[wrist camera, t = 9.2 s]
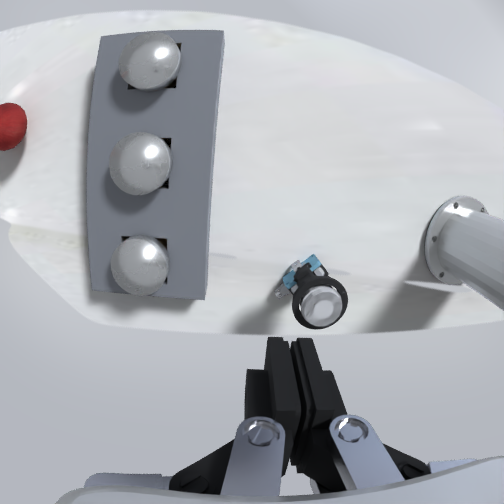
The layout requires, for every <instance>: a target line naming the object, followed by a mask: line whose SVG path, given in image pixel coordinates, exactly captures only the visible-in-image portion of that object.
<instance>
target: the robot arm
mask: <svg viewBox="0 0 504 504" xmlns="http://www.w3.org/2000/svg"><path fill="white" fill-rule="evenodd" d="M425 256H426V261H427V265H428V267H429V269H430V271H431V273H432V274H433V275H434V276H435V277H436V278H437V279H438V280H440V281H441V282H443V283H445V284H448V285H457V284H461V283H464V284H466V285H467V286H469V287H470V288H472V289H473V290H475V291H476V292H478V293H479V294H481V295H482V296H484V297H485V298H486V299H488V300H489V301H491V302H492V303H494V304H495V305H496V306H498V307H499V308H501V309H502V310H503V311H504V220H503V219H500V218H497V217H494V216H491V215H489V214H488V212H487V210H486V208H485V207H484V205H483V204H482V203H481V202H480V201H478V200H477V199H475V198H472V197H468V196H457V197H454V198H452V199H450V200H448V201H447V202H445V203H444V204H443V205H442V206H441V207H440V208H439V210H438V211H437V212H436V214H435V215H434V217H433V219H432V221H431V223H430V226H429V228H428V231H427V236H426V242H425ZM289 458H290V462H291V465H292V466H295V465H296V468H297V473H304V474H305V475H306V476H308V477H310V485H311V488H312V490H313V493H314V494H313V495H298V496H279V493H280V484H281V477H282V476H284V475H285V472H286V469H287V466H288V462H289ZM55 504H504V456H497V457H490V458H485V459H481V460H476V459H463V460H450V461H436V462H429V463H428V464H427V465H426V464H425V463H423V462H422V461H420V460H418V459H416V458H413V457H411V456H409V455H407V454H404V453H402V452H400V451H398V450H396V449H393V448H391V447H389V446H387V445H385V444H383V443H382V442H381V440H380V439H379V437H378V436H377V434H376V433H375V431H374V429H373V427H372V426H371V425H370V423H369V422H368V421H366V420H365V419H363V418H361V417H359V416H355V415H347V412H346V409H345V406H344V403H343V400H342V398H341V395H340V392H339V389H338V386H337V384H336V381H335V378H334V375H333V373H332V371H330V370H329V371H323V370H322V367H321V364H320V361H319V358H318V355H317V352H316V349H315V346H314V343H313V340H312V338H297V340H296V341H292V343H291V347H290V348H289V343H288V341H283V338H282V337H268V340H267V349H266V358H265V365H264V370H255V369H247V374H246V386H245V420H244V421H243V422H242V423H241V424H240V425H239V427H238V429H237V432H236V436H235V439H234V440H232V441H231V442H229V443H227V444H226V445H224V446H222V447H221V448H219V449H217V450H216V451H214V452H213V453H211V454H209V455H208V456H206V457H204V458H202V459H201V460H199V461H197V462H195V463H194V464H192V465H190V466H188V467H187V468H185V469H183V470H181V471H179V472H178V473H176V474H175V475H174V476H165V477H162V475H161V474H119V473H96V474H94V475H92V476H90V477H89V478H88V479H87V480H86V482H85V485H84V488H79V489H76V490H73V491H70V492H68V493H66V494H65V495H63V496H62V497H61V498H60V499H59V500H58V501H57V502H56V503H55Z"/></svg>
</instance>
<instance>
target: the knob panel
mask: <svg viewBox="0 0 504 504" xmlns="http://www.w3.org/2000/svg"><path fill="white" fill-rule="evenodd" d="M149 32H160V33H164V34H166V35H168V36H170V37H171V38H172V39H173V40H174V41H175V43H176V44H177V46H178V48H179V50H180V52H181V55H182V66H181V70H180V72H179V74H178V76H177V84H176V88H163V89H160V90H157V91H151V92H146V91H141V90H138V89H136V88H135V87H133V86H131V85H130V84H128V83H127V82H126V81H125V80H124V79H123V78H122V76H121V74H120V72H119V58H120V55H121V53H122V51H123V49H124V48H125V46H126V45H127V44H128V43H129V42H130V41H131V40H132V39H134V38H135V37H137V36H139V35H141V34H144V33H148V32H136V33H126V34H117V35H109V36H102V37H101V40H100V45H99V50H98V56H97V62H96V69H95V76H94V83H93V91H92V100H91V109H90V120H89V133H88V151H87V231H88V249H89V262H90V274H91V284H92V290H95V291H105V292H114V293H124V294H131V293H128V292H127V291H125V290H124V289H122V288H121V287H120V286H119V285H118V284H117V282H116V281H115V279H114V277H113V275H112V271H111V258H112V255H113V253H114V251H115V249H116V248H117V247H118V246H119V245H120V244H121V243H123V242H124V241H125V240H126V239H127V238H129V237H131V236H134V235H138V234H144V235H149V236H152V237H154V238H167V252H168V254H169V258H170V270H169V273H168V275H167V277H166V279H165V281H164V283H163V285H162V286H161V287H160V288H159V289H158V290H157V291H156V292H154V293H152V294H150V295H146V296H158V297H170V298H183V299H197V300H205V295H206V289H207V279H208V253H209V231H210V212H211V195H212V180H213V165H214V151H215V138H216V126H217V114H218V103H219V93H220V82H221V73H222V63H223V54H224V45H225V41H224V31H220V30H168V31H149ZM135 132H145V133H150V134H154V135H156V136H158V137H160V138H162V139H168V140H171V152H172V156H173V167H172V171H171V174H170V176H169V185H162V186H161V187H160V188H158V189H156V190H154V191H152V192H150V193H147V194H144V195H132V194H128V193H126V192H124V191H122V190H121V189H120V188H119V187H118V186H117V185H116V184H115V183H114V181H113V179H112V177H111V174H110V170H109V159H110V155H111V152H112V150H113V148H114V147H115V145H116V144H117V143H118V142H119V141H120V140H121V139H122V138H123V137H125V136H127V135H129V134H131V133H135Z"/></svg>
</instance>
